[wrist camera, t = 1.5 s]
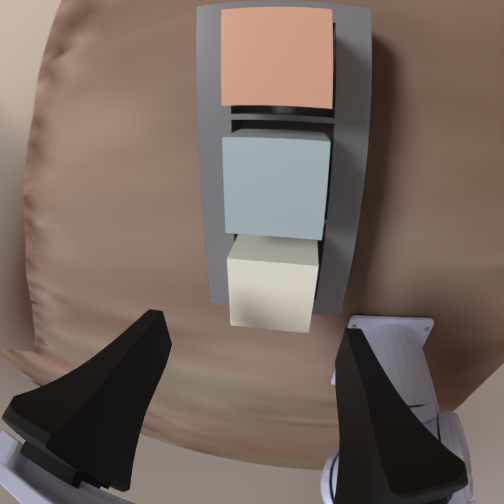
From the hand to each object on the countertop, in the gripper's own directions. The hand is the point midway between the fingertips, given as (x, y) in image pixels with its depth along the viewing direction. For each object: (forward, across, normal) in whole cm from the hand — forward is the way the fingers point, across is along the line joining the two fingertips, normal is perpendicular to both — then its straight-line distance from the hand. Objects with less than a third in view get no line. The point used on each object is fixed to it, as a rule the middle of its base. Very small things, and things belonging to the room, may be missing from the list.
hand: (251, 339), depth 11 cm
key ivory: (+7, -1, +1) cm, 7 cm away
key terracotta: (+7, -1, -10) cm, 13 cm away
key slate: (+7, -1, -5) cm, 9 cm away
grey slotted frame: (+11, -1, -5) cm, 12 cm away
